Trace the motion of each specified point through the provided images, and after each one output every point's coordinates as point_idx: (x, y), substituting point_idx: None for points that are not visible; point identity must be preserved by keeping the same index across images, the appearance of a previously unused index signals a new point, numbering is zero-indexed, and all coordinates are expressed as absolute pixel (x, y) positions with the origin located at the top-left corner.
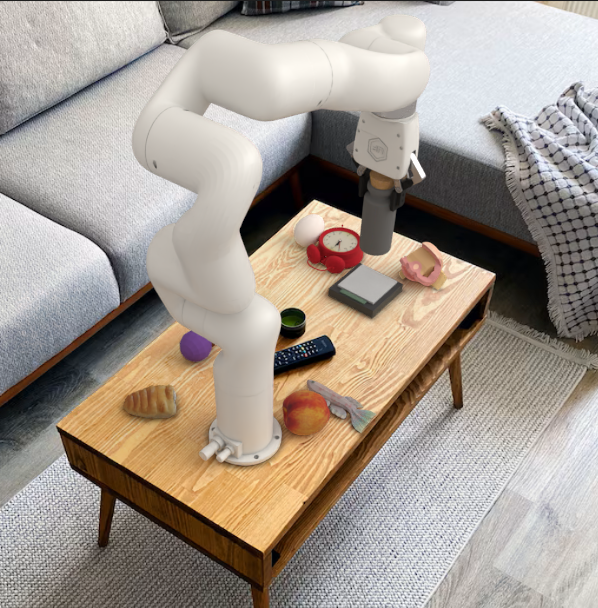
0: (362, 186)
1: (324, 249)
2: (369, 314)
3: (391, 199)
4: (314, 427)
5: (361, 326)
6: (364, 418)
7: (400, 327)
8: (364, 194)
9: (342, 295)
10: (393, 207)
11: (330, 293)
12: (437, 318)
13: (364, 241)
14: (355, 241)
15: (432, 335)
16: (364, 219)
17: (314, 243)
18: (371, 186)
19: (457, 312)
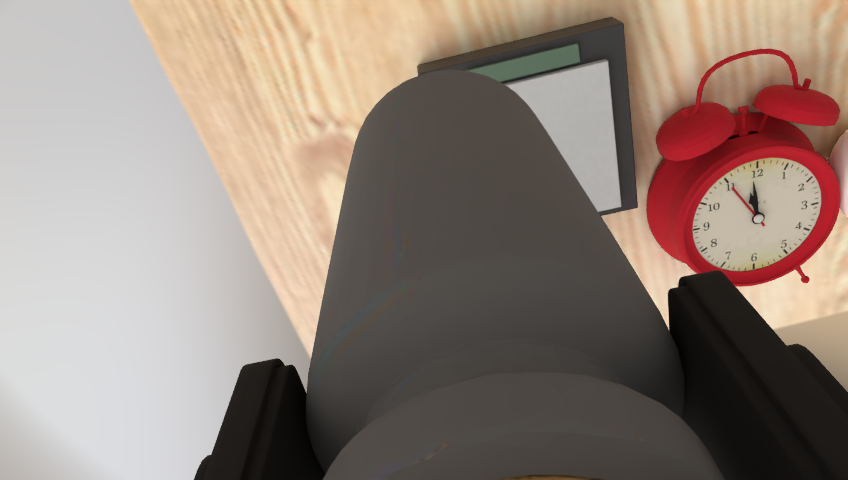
0: (750, 378)
1: (774, 143)
2: (430, 65)
3: (252, 472)
4: None
5: (409, 4)
6: None
7: (326, 114)
8: (676, 329)
9: (556, 39)
10: (235, 404)
11: (606, 22)
12: (296, 233)
13: (456, 91)
14: (712, 257)
15: (240, 170)
16: (508, 155)
17: (832, 154)
18: (584, 458)
19: (286, 293)
